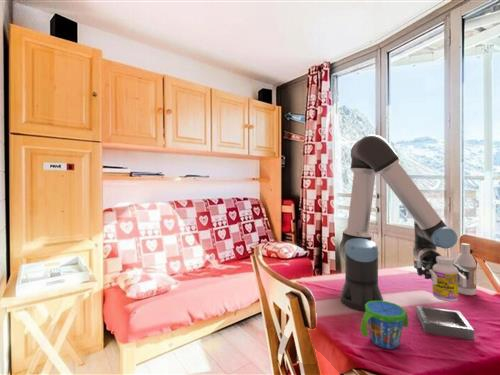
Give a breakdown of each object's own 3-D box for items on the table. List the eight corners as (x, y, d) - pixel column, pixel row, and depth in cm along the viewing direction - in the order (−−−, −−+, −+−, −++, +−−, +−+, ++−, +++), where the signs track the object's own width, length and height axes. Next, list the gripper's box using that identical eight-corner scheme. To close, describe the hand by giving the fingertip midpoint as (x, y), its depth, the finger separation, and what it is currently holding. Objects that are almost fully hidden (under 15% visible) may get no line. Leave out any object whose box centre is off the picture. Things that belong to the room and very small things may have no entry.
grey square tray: (424, 332, 86) (424, 322, 86) (416, 314, 97) (416, 305, 97) (474, 340, 81) (474, 330, 81) (459, 320, 93) (459, 311, 93)
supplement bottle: (431, 298, 89) (430, 258, 88) (434, 292, 94) (434, 253, 93) (457, 304, 84) (456, 262, 84) (459, 297, 89) (459, 257, 89)
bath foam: (474, 297, 110) (475, 246, 110) (453, 292, 115) (453, 244, 115) (477, 292, 115) (477, 243, 115) (456, 287, 120) (456, 241, 120)
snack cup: (394, 329, 88) (394, 297, 88) (422, 348, 78) (422, 312, 77) (350, 336, 84) (349, 303, 84) (373, 358, 74) (373, 320, 74)
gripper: (462, 272, 102) (490, 297, 81) (402, 268, 109) (412, 290, 88) (462, 252, 102) (490, 272, 80) (401, 249, 109) (412, 266, 87)
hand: (449, 281), depth 84 cm, fingers closed on supplement bottle, 7 cm apart
